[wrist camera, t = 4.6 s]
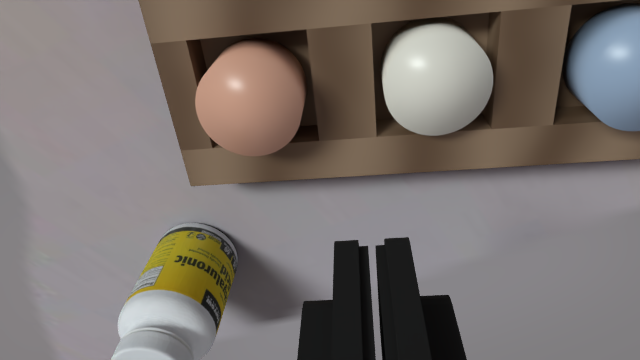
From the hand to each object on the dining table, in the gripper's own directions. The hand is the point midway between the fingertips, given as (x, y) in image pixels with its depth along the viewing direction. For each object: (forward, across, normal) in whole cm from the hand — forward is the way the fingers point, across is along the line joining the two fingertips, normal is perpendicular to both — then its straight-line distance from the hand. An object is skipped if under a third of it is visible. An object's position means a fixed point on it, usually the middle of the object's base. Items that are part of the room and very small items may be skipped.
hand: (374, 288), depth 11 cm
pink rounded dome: (+15, +5, 0) cm, 16 cm away
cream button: (+15, -4, 0) cm, 16 cm away
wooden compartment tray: (+17, -4, 0) cm, 17 cm away
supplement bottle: (+17, +11, +12) cm, 24 cm away
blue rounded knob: (+14, -12, 0) cm, 19 cm away
